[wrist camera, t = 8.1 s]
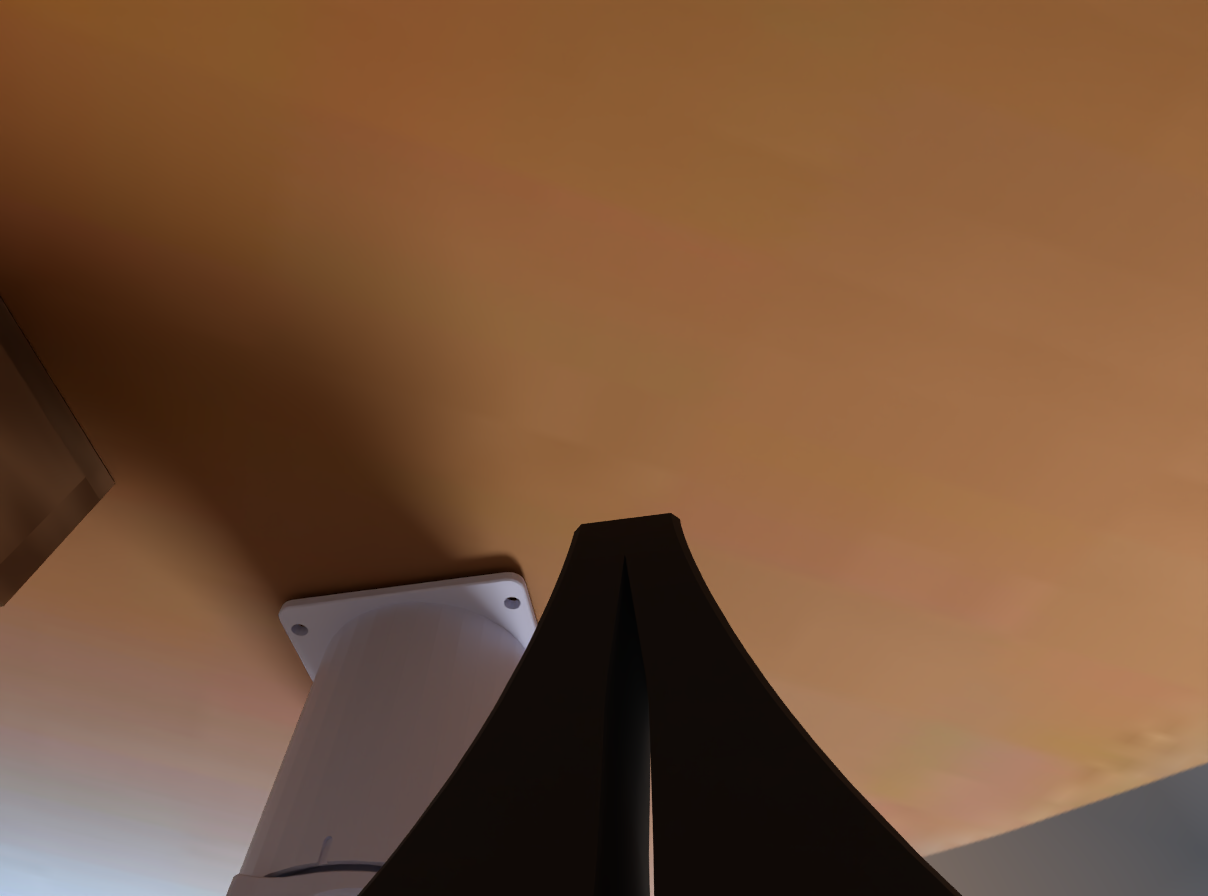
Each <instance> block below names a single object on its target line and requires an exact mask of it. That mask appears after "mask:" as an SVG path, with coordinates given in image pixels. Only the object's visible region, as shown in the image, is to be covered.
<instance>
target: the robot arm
mask: <svg viewBox="0 0 1208 896" xmlns="http://www.w3.org/2000/svg"><path fill="white" fill-rule="evenodd" d="M509 597H515V598H517V599H518V600H509V599H507V598H509ZM278 616H279V620H280V622H281V623H282V625H283V627H284V629H285V631H286V633H287V635H288V637H289V638H290V640H291V642H292V644H293V646H294V648H295V650H296V651H297V653H298V655H299V657H300V659H301V661H302V663H303V665H304V666H305V668H306V670H307V672H308V674H309V676H310V678H311V679H312V681H313V684H312V686H311V689H310V691H309V694H308V697H307V699H306V702H305V704H304V707H303V710H302V712H301V715H300V717H299V720H298V723H297V725H296V728H295V730H294V733H293V735H292V738H291V741H290V743H289V746H288V748H287V751H286V754H285V756H284V759H283V761H282V764H281V767H280V769H279V772H278V774H277V777H276V779H275V782H274V785H273V787H272V790H271V792H270V795H269V798H268V800H267V803H266V805H265V808H264V810H263V813H262V816H261V818H260V821H259V823H258V826H257V829H256V831H255V834H254V836H253V839H252V842H251V844H250V847H249V849H248V852H247V854H246V857H245V860H244V862H243V865H242V867H241V870H240V873H239V874H238V875H235V876H234V877H233V880H232V882H231V885H230V887H229V890H228V892H227V895H226V896H650V885H649V813H650V752H651V781H652V815H653V853H654V896H962V895H961V894H960V893H959V892H958V891H957V890H956V889H954V887H953V886H951V885H950V884H949V883H948V882H947V881H946V880H945V879H944V878H943V877H942V876H941V875H940V874H939V873H938V872H937V871H936V870H935V869H934V868H932V866H930V865H929V864H928V863H927V862H926V861H925V860H924V859H923V858H922V857H921V856H920V855H919V854H918V853H917V852H916V851H915V850H914V849H913V848H912V847H911V846H910V845H909V843H908V842H907V841H906V840H905V839H904V838H903V837H902V836H901V835H900V834H899V833H898V832H897V831H896V830H895V829H894V828H893V827H892V826H891V825H890V824H889V823H888V822H887V821H886V820H885V818H884V817H883V816H882V815H881V814H880V813H879V812H878V811H877V810H876V809H875V808H874V807H873V806H872V805H871V804H870V803H869V802H868V801H867V800H866V799H865V798H864V797H863V796H862V794H861V793H860V792H859V791H858V790H857V789H856V788H855V787H854V786H853V785H852V784H851V783H850V782H849V781H848V780H847V778H846V777H845V776H844V775H843V774H842V773H841V772H840V770H839V769H838V768H837V767H836V766H835V765H834V763H833V762H832V761H831V760H830V759H829V758H828V757H827V755H826V754H825V753H824V752H823V751H822V750H821V748H820V747H819V746H818V745H817V744H816V743H815V741H814V740H813V739H812V738H811V736H810V735H809V734H808V733H807V732H806V730H805V729H804V728H803V727H802V725H801V724H800V723H799V722H798V720H797V719H796V718H795V717H794V716H793V714H792V713H791V712H790V710H789V709H788V708H787V707H786V705H785V704H784V703H783V701H782V700H781V699H780V697H779V696H778V695H777V693H776V692H775V691H774V689H773V688H772V687H771V685H770V684H769V683H768V681H767V680H766V678H765V677H764V676H763V674H762V673H761V671H760V670H759V668H758V667H757V665H756V664H755V663H754V661H753V660H752V658H751V657H750V655H749V654H748V653H747V651H746V650H745V648H744V647H743V645H742V643H741V642H740V640H739V639H738V637H737V636H736V634H735V633H734V631H733V630H732V628H731V626H730V625H729V623H728V621H727V619H726V618H725V616H724V614H723V613H722V611H721V609H720V608H719V606H718V604H717V603H716V601H715V599H714V598H713V596H712V594H711V592H710V591H709V589H708V587H707V585H706V583H705V581H704V579H703V577H702V575H701V573H700V571H699V569H698V567H697V565H696V563H695V561H694V559H693V557H692V554H691V552H690V550H689V547H688V545H687V542H686V540H685V537H684V534H683V530H682V527H681V523H680V519H679V518H678V517H676V516H675V515H673V514H672V513H667V514H659V515H651V516H643V517H635V518H627V519H619V520H611V521H603V522H595V523H587V524H581V525H580V526H579V527H578V529H577V530H576V531H575V532H574V535H573V539H572V542H571V545H570V548H569V551H568V554H567V557H566V560H565V562H564V565H563V568H562V570H561V573H560V575H559V578H558V580H557V582H556V585H555V587H554V590H553V592H552V594H551V597H550V599H549V601H548V603H547V606H546V608H545V610H544V612H543V614H542V616H541V618H540V620H539V623H538V625H537V621H536V618H535V614H534V611H533V607H532V604H531V600H530V597H529V593H528V590H527V586H526V583H525V581H524V579H523V577H521V576H520V575H519V574H516V573H513V572H503V573H496V574H488V575H480V576H472V577H465V578H457V579H449V580H441V581H434V582H426V583H418V584H411V585H403V586H395V587H387V588H380V589H372V590H364V591H356V592H349V593H341V594H333V595H325V596H318V597H310V598H302V599H295V600H290V601H286V602H285V603H284V604H283V605H282V607H281V609H280V612H279V615H278ZM298 624H301V625H304V626H305V627H302V626H300V625H298Z"/></svg>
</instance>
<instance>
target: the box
mask: <svg viewBox="0 0 1208 896" xmlns="http://www.w3.org/2000/svg"><path fill="white" fill-rule="evenodd" d="M114 484H115V483H114V481H113V480H112V478H111V476H110V475H109V473H108V472H107V470H106V468H105V467H104V465H103V463H102V462H101V460H100V459H99V457H98V455H97V454H96V452H95V450H94V449H93V447H92V446H91V444H90V442H89V441H88V439H87V437H86V436H85V434H84V433H83V431H82V429H81V428H80V426H79V424H78V423H77V421H76V420H75V418H74V416H73V415H72V413H71V411H70V410H69V408H68V407H67V405H66V403H65V402H64V400H63V398H62V397H61V395H60V393H59V392H58V390H57V389H56V387H55V385H54V384H53V382H52V380H51V379H50V377H49V376H48V374H47V372H46V371H45V369H44V367H43V366H42V364H41V363H40V361H39V359H38V358H37V356H36V354H35V353H34V351H33V350H32V348H31V346H30V345H29V343H28V341H27V340H26V338H25V337H24V335H23V333H22V332H21V330H20V328H19V327H18V325H17V324H16V322H15V320H14V319H13V317H12V315H11V314H10V312H9V311H8V309H7V307H6V306H5V304H4V302H3V301H2V299H1V298H0V607H2V606H4V605H5V604H6V603H7V602H8V601H9V600H10V599H11V598H12V597H13V595H14V594H15V593H16V592H17V591H18V590H19V589H20V588H21V587H22V586H23V584H24V583H25V582H26V581H27V580H28V579H29V578H30V577H31V576H32V575H33V573H34V572H35V571H36V570H37V569H38V568H39V567H40V566H41V565H42V564H43V562H44V561H45V560H46V559H47V558H48V557H49V556H50V555H51V554H52V553H53V551H54V550H55V549H56V548H57V547H58V546H59V545H60V544H61V543H62V542H63V540H64V539H65V538H66V537H67V536H68V535H69V534H70V533H71V532H72V531H73V529H74V528H75V527H76V526H77V525H78V524H79V523H80V522H81V521H82V520H83V518H84V517H85V516H86V515H87V514H88V513H89V512H90V511H91V510H92V509H93V507H94V506H95V505H96V504H97V503H98V502H99V501H100V500H101V499H102V498H103V497H104V495H105V494H106V493H107V492H108V491H109V490H110V489H111V488H112V487H113V486H114Z"/></svg>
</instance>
